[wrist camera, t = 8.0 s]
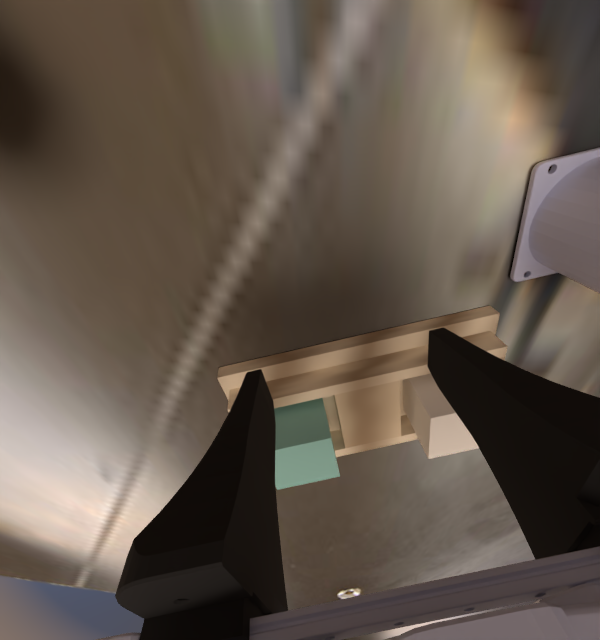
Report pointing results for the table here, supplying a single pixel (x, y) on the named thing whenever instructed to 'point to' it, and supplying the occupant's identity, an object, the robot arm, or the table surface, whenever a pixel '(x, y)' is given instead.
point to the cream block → (434, 418)
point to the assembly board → (362, 376)
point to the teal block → (303, 445)
